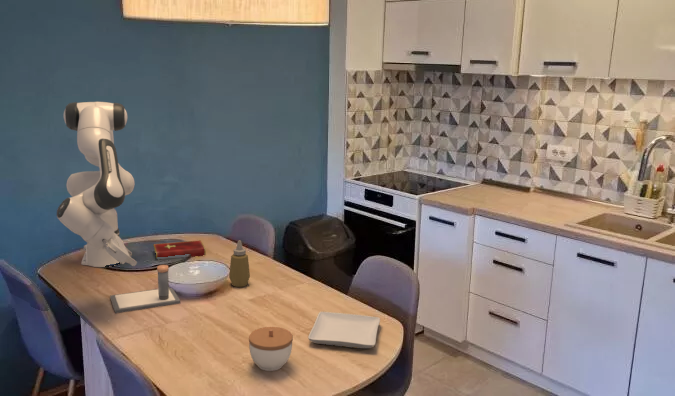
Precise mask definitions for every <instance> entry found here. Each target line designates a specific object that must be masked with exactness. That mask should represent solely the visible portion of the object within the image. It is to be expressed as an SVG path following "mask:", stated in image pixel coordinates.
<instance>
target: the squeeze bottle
mask: <svg viewBox="0 0 675 396" xmlns="http://www.w3.org/2000/svg"><path fill="white" fill-rule="evenodd" d="M228 275H229V277H228V278H229V280H230V282H231V285H232V286H233V287H234V288H235V287H237V288H243V287H247V285H248V283H249V280H250V277H251V274H250V264H249V255H248V254H247V253H246V249H245V247H243V242H242V240H237V244H236V247H235V248H234V249H233V254H232V255H231V256H230V265H229V274H228Z"/></svg>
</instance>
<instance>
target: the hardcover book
mask: <svg viewBox="0 0 675 396" xmlns="http://www.w3.org/2000/svg"><path fill="white" fill-rule="evenodd" d="M153 249H154V254H155V253H156V255H155V259H156V258H157V257H168V256H175V255H185V254H191V256H192V257H191V258H195V256H198V257H204V256H203V255H207V254H206V247H205V245H204V243H203V241H202V240H200V239H199V240H189V241H179V242H177V241H176V242H175V241H174V242H165V243H154V244H153Z"/></svg>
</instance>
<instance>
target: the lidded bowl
mask: <svg viewBox="0 0 675 396" xmlns="http://www.w3.org/2000/svg"><path fill="white" fill-rule="evenodd" d="M293 338H294V337H293V333H292V332H291V331H290V330H288V329H286V328H283V327H279V326H265V327H260V328H257V329H255V330H253V331H252V332H250V334H249V335H248V341H249V354H250V356H251V359H252V361H253V362H254V364H256V366H258V368H259V369H260V370H261V371H262V370H263V371H265V372H274V371H279V370H280V369H281V368H283V366H284V365H285V364H286V363H287V362H288V361H289V359H290V356H291V353H292V350H293V340H294V339H293Z"/></svg>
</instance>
